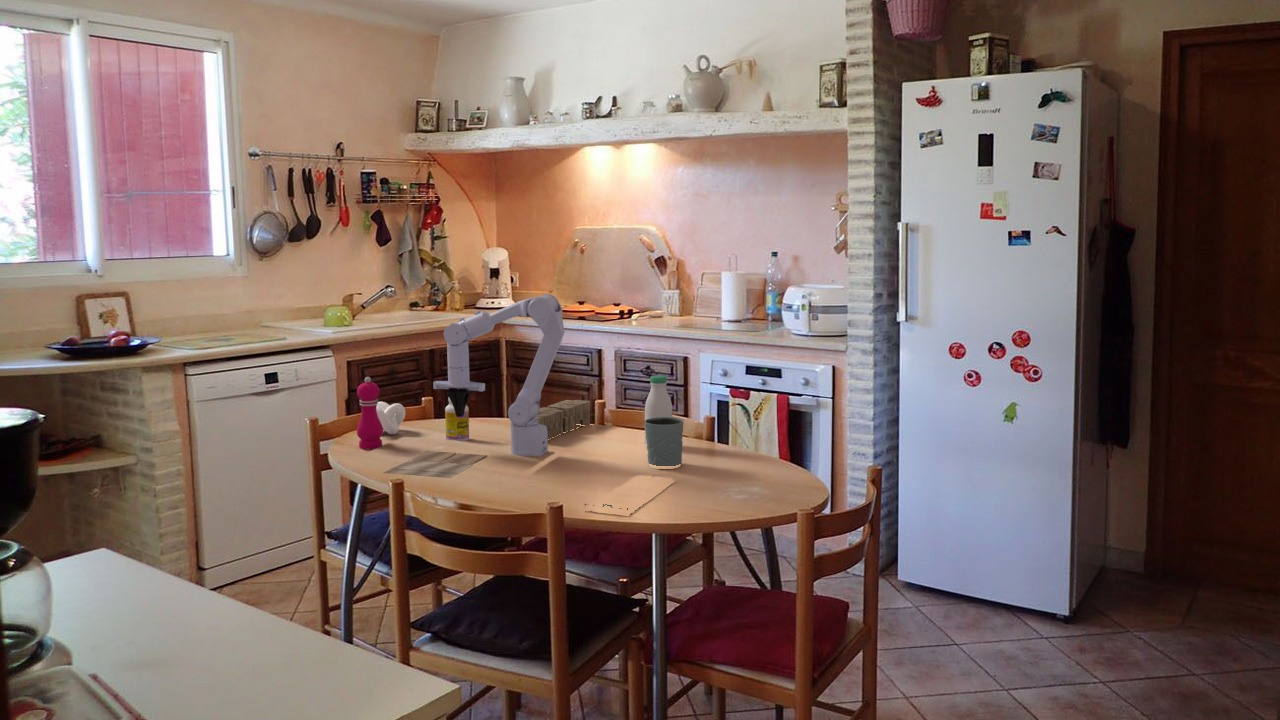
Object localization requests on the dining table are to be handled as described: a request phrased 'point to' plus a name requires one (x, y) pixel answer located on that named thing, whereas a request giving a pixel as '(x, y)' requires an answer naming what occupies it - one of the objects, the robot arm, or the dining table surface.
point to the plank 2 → (465, 458)
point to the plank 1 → (434, 456)
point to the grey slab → (428, 469)
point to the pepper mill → (369, 416)
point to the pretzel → (390, 416)
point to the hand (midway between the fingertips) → (460, 416)
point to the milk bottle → (658, 399)
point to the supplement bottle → (456, 424)
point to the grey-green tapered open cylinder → (664, 440)
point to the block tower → (564, 416)
